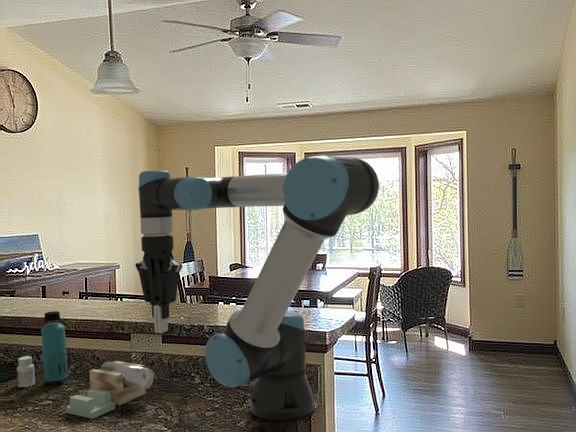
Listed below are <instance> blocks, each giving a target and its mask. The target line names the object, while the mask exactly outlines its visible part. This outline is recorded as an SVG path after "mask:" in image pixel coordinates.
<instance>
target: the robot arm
mask: <svg viewBox="0 0 576 432" xmlns="http://www.w3.org/2000/svg"><path fill="white" fill-rule="evenodd" d="M138 176H139V177H138V188H137V189H138V193H139V195H138V197H139V200H138V201H139V215H140V216H139V217H140V234H141V235H143V236H142V237H141V239H140V241H141V250H142V252H143V253H144V254H143V256H142V259H141V260H140V262H136V263H135V265H134V266H135V268H136V270H137V272H138V275H139V279H140V280H139V281H140V284H141V290H142V294H143V299H144V302H145V303H149V304H150V306H151V315H152V318H153V320H154V321H153V323H154V333H159V334H162V333H165V332H168V331H169V323H168V318H170V304H172V303H175V302H176V301H177V294H178V293H177V292H178V287H179V286H178V285H179V278H180V277H179V276H180V272H181V270H182V268H183V264H182V263H181V262H180V263H178V262H177V261H175V258H174V255H173V250H174V247H175V246H174V235H173V234H172V233H173V212H172V211H190V212H191V211H199V210H204V209H207V210H208V209H220V208H224V209H225V208H244V207H247V208H248V207H253V208H254V207H282V213H283V215H284V217H285V220H284V222H283V225H282V226H281V228H280V231H279V232H278V234H277V237H276V238H275V241H274V243H273V245H272V247H271V249H270V251H269V253H268V256H267V257H266V259H265V262H264V263H263V265H262V268H261V270H260V271H259V274H258V276H257V278H256V280H255V282H254V284H253V286H252V288H251V290H250V292H249V294H248V297H246V301H245V302H244V304H243V307H242V308H241V309H239V310H236V311H234V312H232V313H231V315H230V317H229V319H228V321H227V323H226V325H225V327H224V329H223V331H221V332H217V333H215V334H214V335H213V336H211V337H210V338H209V339H208V340H207V342H206V345H205V348H204V356H205V361H206V363H207V367H208V370H209V372H210V374H211V375H212V377H213V378H214V380H216V381H217V382H218V383H219V384H221V385H222V386H224V387H226V388H236V387H240V386H245V385H247V384H248V383H250V382H253V381H254V380H255V383H254V386H253V390H252V394H251V397H250V402H249V406H250V413H251V414H252V415H253V416H254V417H256V418H259V419H262V420H266V421H275V422H276V421H278V422H281V421H282V422H283V421H291V420H298V419H302V418H304V417H306V416H309V415H311V414H312V413H313V411H314V410H315V397H314V395H313V392H312V389H311V385H310V383H309V381H308V380H309V379H308V378H307V372H306V371H307V370H306V369H307V368H306V342H305V341H306V337H305V334H306V333H305V332H306V328H305V322H304V317H303V316H302V315H301V314H299V313H298V312H291V311H288V310H289V308H290V307H291V304H292V302H293V300H294V298H295V297H296V295H297V294H298V291H299V290H300V287H301V286H302V284H303V281H304V280H305V277H306V276H307V274H308V272H309V270H310V268H311V267H312V265H313V263H314V260H315V258H317V257H316V256H317V255H318V253H319V251H320V249H321V247H322V245H323V243H324V242H325V239H330V238H333V237H335V236H336V235H337V233H338V231H339V230H340V228H341V226H342V224H343V222H344V221H345V219H346V217H347V216H353V215H357V214H360V213H363V212H365V211H366V210H367V209H370V207H371V206H372V205H374V203H375V201H376V199H377V197H378V194H379V189H380V182H379V178H378V174H377V173H376V170H375V168H373V166H371V164H369V163H368V162H367V161H365V160H363V159H360V158H358V157H353V156H344V157H343V156H331V155H326V154H324V155H323V154H318V155H314V156H308V157H304V158H302V159H300V160H298V161H297V162H296V163H294V164H293V165H292V167H290V168H289V171H287V172H278V173H266V174H265V173H263V174H253V175H252V174H251V175H250V174H249V175H239V176H238V175H237V176H221V177H220V176H216V177H207V176H206V177H201V176H200V177H199V176H186V177H175V178H171V177H172V176H171V172H170V171H169V170H145V171H144V170H143V171H141V172H140V173H139V175H138Z"/></svg>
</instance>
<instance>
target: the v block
mask: <svg viewBox="0 0 576 432" xmlns="http://www.w3.org/2000/svg"><path fill="white" fill-rule="evenodd" d="M115 409H116V405H115V402H111V394H110V391H106V390H101V389H95V388H92V389H90V388H89V389H88V390H86V396H85V395H80V394H75V395H72V396H70V397H69V405H67V406H66V407H65V410H66V411H65V413H67V414H70V415H73V416H75V415H76V416H77V417H83V418H88V419H91V420H92V419H96V418H98V417H100V416H103V415H104V414H107V413H109V412H111V411H113V410H115Z"/></svg>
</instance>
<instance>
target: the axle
mask: <svg viewBox="0 0 576 432" xmlns="http://www.w3.org/2000/svg"><path fill="white" fill-rule="evenodd" d="M112 362H113V361H111V362H110V361H106V362H104V363H103V364H102V365H101V366H100V368H99V370H103V371H109V372H115V373H121V374H123V385H125V386H131V387H136V388H142V389H145V390H147V389H149V388H150V387H151V386H152V384H153V382H154V378H155V377H154V372H153V370H152V368H148V367H144V368H143V367H137V366H131V365H124V364H118V363H112Z"/></svg>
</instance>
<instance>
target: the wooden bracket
mask: <svg viewBox="0 0 576 432" xmlns="http://www.w3.org/2000/svg"><path fill="white" fill-rule="evenodd" d="M111 362H112V363H118V364H124V365H131V366H137V367H143V368H145V364H138V363H132V362H126V361H119V360H115V361H111ZM89 384H90V385H89V389H92V388H95V389H101V390H106V391H110V394H111V402H115V406H122V405H123V404H124V405H125V404H127V403H128V402H130V401H133V400H134V399H137V398H140V397H141V396H143V395H146V391H147V389H142V388H136V387H131V386H125V385H123V374H121V373H115V372H109V371H103V370H100V369H96V368H93V369H90V370H89Z"/></svg>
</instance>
